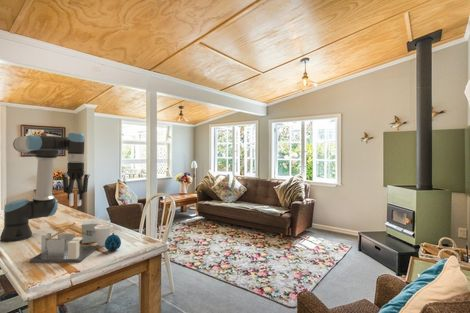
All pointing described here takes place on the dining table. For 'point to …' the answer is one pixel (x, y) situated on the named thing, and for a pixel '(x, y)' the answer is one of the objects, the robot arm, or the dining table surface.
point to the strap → (62, 230)
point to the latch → (74, 248)
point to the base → (65, 258)
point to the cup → (102, 233)
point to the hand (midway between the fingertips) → (75, 205)
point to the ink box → (89, 231)
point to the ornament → (112, 242)
